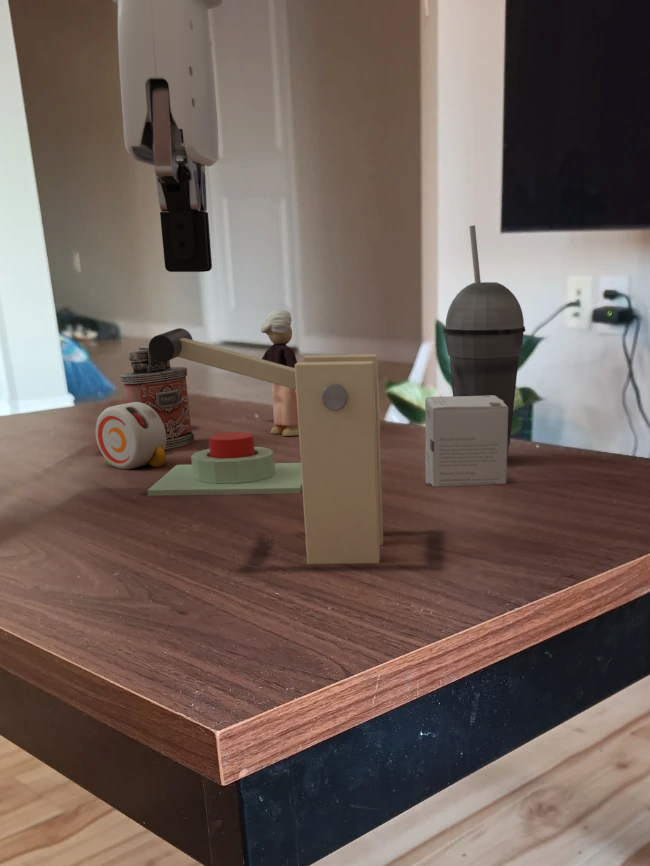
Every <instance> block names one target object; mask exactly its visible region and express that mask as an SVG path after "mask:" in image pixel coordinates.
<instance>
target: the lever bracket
mask: <svg viewBox="0 0 650 866" xmlns="http://www.w3.org/2000/svg"><path fill="white" fill-rule="evenodd" d="M378 363H379V361H378V354H377V353H352V354H350V353H349V354H348V353H347V354H346V353H345V354H344V353H343V354H305V355H304V356H303V357H302V362H301V361H299V362H298V361H297V363H296V364H295V379H296V389H295V391H296V396H297V410H298V426H299V435H298V439H299V440H298V441H299V456H300V463H301V473H302V502H303V518H304V519H303V520H304V534H305V550H306V551H305V553H306V564H307V565H355V564H356V565H357V564H358V565H359V564H360V565H361V564H363V565H364V564H365V565H366V564H367V565H368V564H369V565H370V564H380V560H381V547H382V546H383V545H384V522H383V521H384V520H383V519H384V518H383V491H382V490H383V489H382V488H383V487H382V463H381V462H382V459H381V458H382V457H381V454H382V453H381V427H380V426H381V425H380V424H381V423H380V421H381V420H380V399H379V398H380V395H379V394H380V393H379V392H380V391H379V364H378Z"/></svg>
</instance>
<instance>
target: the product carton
mask: <svg viewBox="0 0 650 866" xmlns="http://www.w3.org/2000/svg"><path fill="white" fill-rule="evenodd" d="M424 402H425V403H424V404H425V409H424V410H425V411H424V412H425V418H424V419H425V427H424V428H425V431H424V432H425V438H424V439H425V440H424V441H425V454H424V455H425V456H424V457H425V484H431V486H432V487H458V486H459V487H461V486H481V485H482V486H483V485H505V484H507V474H508V473H507V471H508V470H507V469H508V468H507V467H508V454H507V436H508V406H507V405H506V404H505V403H504V401H503V400H501V399H499V398H498V397H497V396H494V395H491V396H453V395H451V396H427V397H425V399H424Z"/></svg>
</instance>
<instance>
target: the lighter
mask: <svg viewBox="0 0 650 866" xmlns="http://www.w3.org/2000/svg"><path fill="white" fill-rule="evenodd" d="M127 354H128V359H129V361H128V362H129V363H130V366H131V367H132V370H133V371H131V372H126V373H121V374H120V381H121V384H123V389H124V397H125V404H127V403H132V402H141V403H144V404H146V405H148V406H150V407H151V408H152V409H153V410H155V412H156V413H157V414H158V415H159V417H160V418H161V420H162V422H163V425H164V428H165V432H166V447H165V450H169V449H174V448H178V447H182V446H186V445H189V444H192V443H195V434H194V432H193V431H192V424H191V423H192V422H191V413H190V404H189V393H188V384H187V377H188V368H187V367H185V366H171V360H169V361H167V362H158V361H156V360H155V359H153V358H152V356H151V355H150V353H149V344H141V345H139V347H138V349H134V350H128V353H127Z"/></svg>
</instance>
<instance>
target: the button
mask: <svg viewBox="0 0 650 866" xmlns="http://www.w3.org/2000/svg"><path fill="white" fill-rule="evenodd" d="M208 445H209V449H210V457H213V458H241V457H249V456H253V455H255V450H254V447H255V438H254V435H253V433H250V432H246V431H245V432H244V431H230V432H220V433H215V434H211V435H209V436H208Z"/></svg>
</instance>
